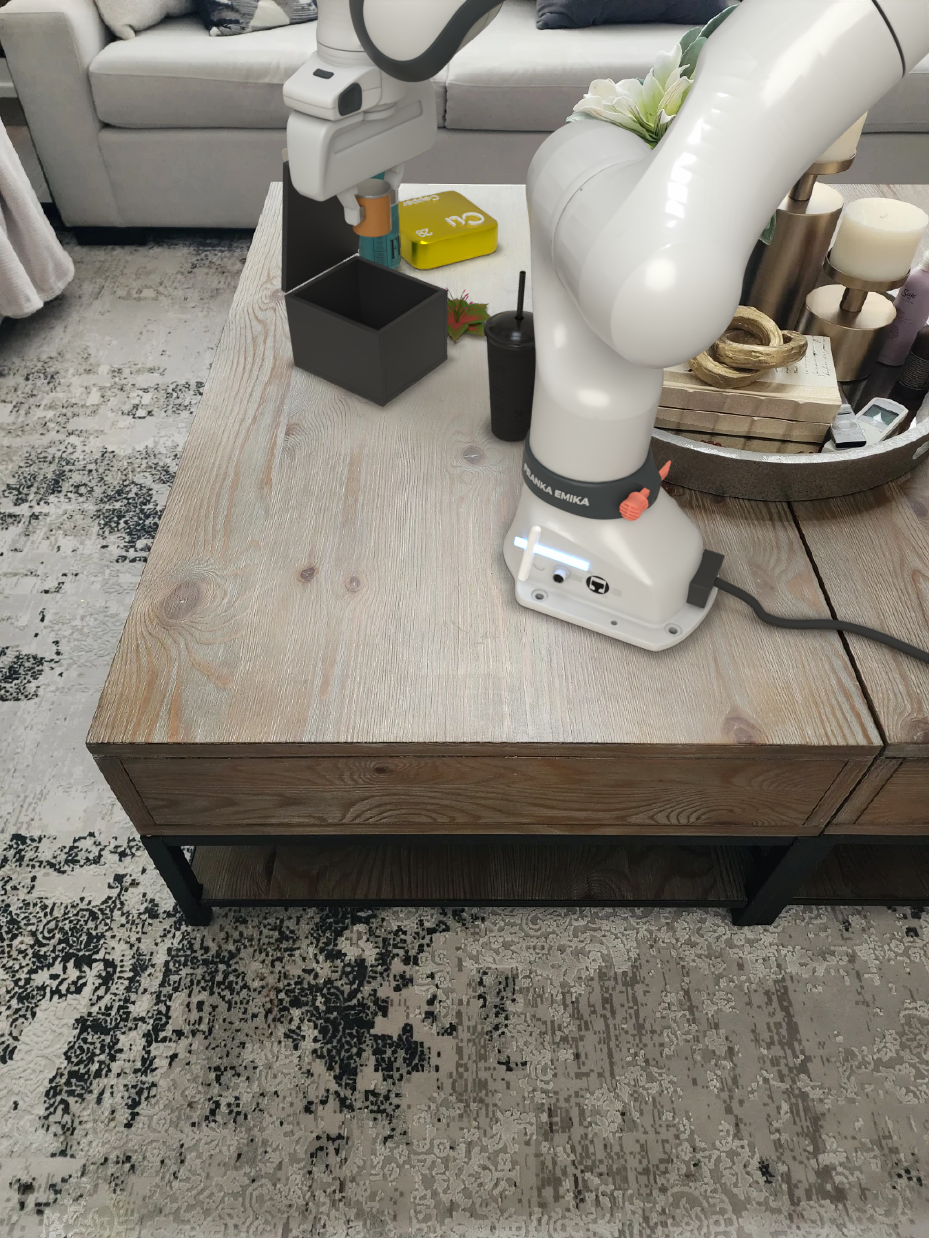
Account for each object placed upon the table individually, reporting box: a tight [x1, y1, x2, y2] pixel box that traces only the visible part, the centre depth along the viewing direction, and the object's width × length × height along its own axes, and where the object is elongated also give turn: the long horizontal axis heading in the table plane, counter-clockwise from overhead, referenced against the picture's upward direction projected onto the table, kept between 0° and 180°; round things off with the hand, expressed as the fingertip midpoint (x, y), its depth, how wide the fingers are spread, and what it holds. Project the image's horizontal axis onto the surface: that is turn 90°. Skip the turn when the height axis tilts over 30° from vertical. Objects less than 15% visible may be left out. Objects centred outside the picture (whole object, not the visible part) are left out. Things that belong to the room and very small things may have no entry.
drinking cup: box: [483, 270, 536, 443], centre depth 96 cm, size 8×8×20 cm
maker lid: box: [280, 146, 360, 294], centre depth 102 cm, size 16×14×5 cm
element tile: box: [398, 190, 499, 270], centre depth 134 cm, size 15×15×5 cm
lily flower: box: [445, 286, 492, 343], centre depth 118 cm, size 12×12×5 cm
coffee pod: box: [353, 179, 392, 237], centre depth 94 cm, size 5×5×4 cm
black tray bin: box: [283, 254, 449, 407], centre depth 109 cm, size 15×14×10 cm
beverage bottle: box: [357, 171, 403, 270], centre depth 121 cm, size 6×7×20 cm
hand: (372, 213), depth 95 cm, fingers closed on coffee pod, 4 cm apart
